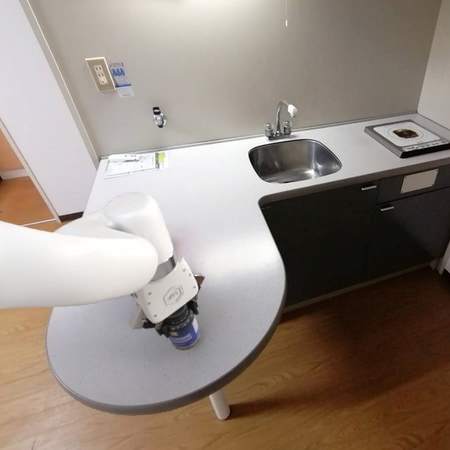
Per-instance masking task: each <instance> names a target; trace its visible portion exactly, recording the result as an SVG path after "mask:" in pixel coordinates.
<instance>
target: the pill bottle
mask: <svg viewBox="0 0 450 450" xmlns="http://www.w3.org/2000/svg"><path fill="white" fill-rule="evenodd" d="M162 322H163V323H164V324H165V326H166V327H167V329H168V331H169V334H170V337H169V338H168V339H169V340H170V342H171V345H172V346H173V347H174V349H176V350H178V351H186V350H187V351H188V350H190V349H192V348H194V347H195V346H196V345H197V344H198V343H199V342H200V339H201V334H202V333H201V329H200V327H199V324H198V321H197V318H196V315H195V314H194V313H193V310H192V309H191V307H189V306H188V305H186V303H185V304H184V305H183V306H181V307H180V308H179V309H178V310H176V311H175V312H173V313H172V314H171V315H169V316H168V317H167V318H165V319H164V320H162Z"/></svg>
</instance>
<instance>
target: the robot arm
mask: <svg viewBox="0 0 450 450" xmlns="http://www.w3.org/2000/svg"><path fill="white" fill-rule="evenodd" d="M168 230H169V229H168V228H167V225H166V222H165V218H164V216H163V213H162V211H161V208H160V205H159V204H158V201H157V200H156V198H155V197H154V196H152V195H151V194H150V193H147V192H143V191H142V192H141V191H132V192H126V193H123V194H120V195H117V196H115V197H114V198H112V199H110V200H109V201H108V202H107V203H106V205H105V206H104V207H102V208H100V209H98V210H95V211H93V212H91V213H88V214H86V215H84V216H82V217H79V218H77V219H75V220H72V221H70V222H68V223H66V224H64V225H62V226H60V227H59V228H57V229H55V230H54V231H53V232H51V231H46V230H41V229H36V228H32V227H27V226H23V225H18V224H15V223H10V222H6V221H2V220H0V310H2V309H5V310H6V309H7V310H8V309H31V308H35V309H36V308H65V307H66V308H68V307H78V306H79V307H81V306H87V305H93V304H98V303H103V302H107V301H112V300H115V299H116V300H117V299H121V298H124V297H128V296H131V295H130V294H132V293H133V295H134V297H133V299H134V298H135V299H134V301H135V303H136V305H137V307H136V309H135V311H134V313H133V315H132V317H131V319H130V321H129V324H128V325H129V327H130V328H131V329H132V330H142V329H144V330H149V329H155V331H156V334H158V336H159V337H162V336H164V337H165V338H166V339H170V338H169V337H170V334H169V331H168V329H167V327H166V326H165V324H164V323H163V322H162V320H164V319H165V318H167V317H168V316H169V315H171V314H172V313H173V312H175V311H176V310H178V309H179V308H180V307H181V306H183V305H184V304H185V303H186V305H188V306H189V307H191V309H192V310H193V313H194V315H195V316H197V315H199V314H200V312H199V309H198V308H199V304H198V301H197V300H198V299H199V297H198V294H199V292H200V290H201V288H202V285H203V282H204V280H205V278H206V277H205V275H204V274H202V273H200V272H192V270H191V268H190V266H189V264H188V263H187V261H186V260H185V258H184V257H183V255H182V254H180V253H178V252H177V251H176V250H175V247H174V244H173V241H172V238H171V235H170V233H169V231H168Z"/></svg>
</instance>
